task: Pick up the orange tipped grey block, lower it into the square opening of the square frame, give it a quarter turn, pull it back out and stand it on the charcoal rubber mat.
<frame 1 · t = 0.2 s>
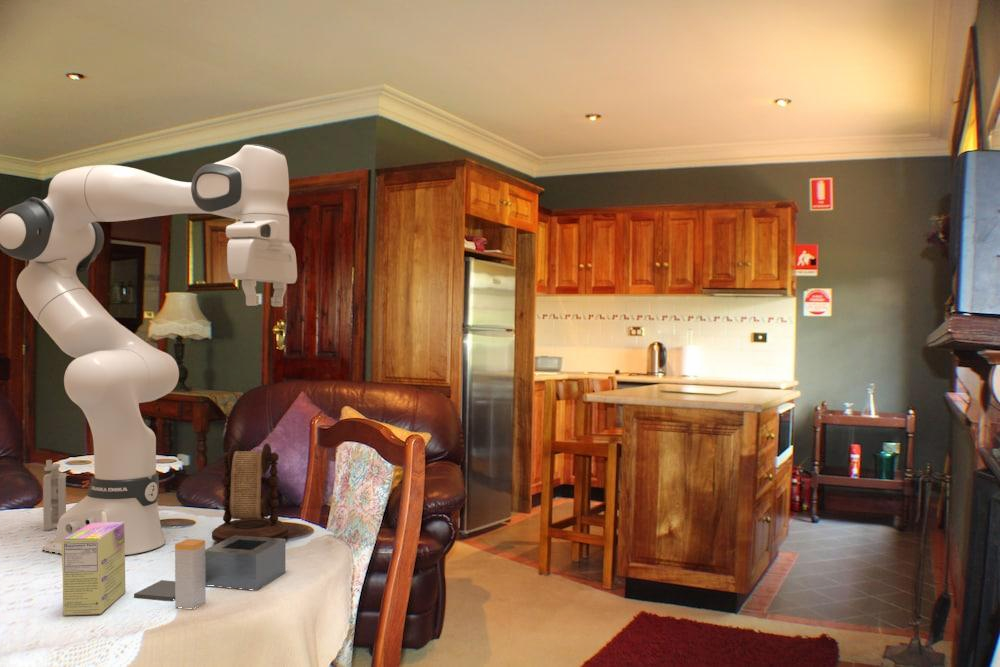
hand: (265, 306, 151), 47 cm above the table, tool pointing down, fingers open, 8 cm apart
white pump bottle: (56, 526, 176), on the table
orange tipped grey block: (190, 605, 127), on the table
box: (95, 605, 128), on the table
mat: (166, 592, 133), on the table
scroll: (250, 542, 163), on the table
square frame: (245, 579, 140), on the table
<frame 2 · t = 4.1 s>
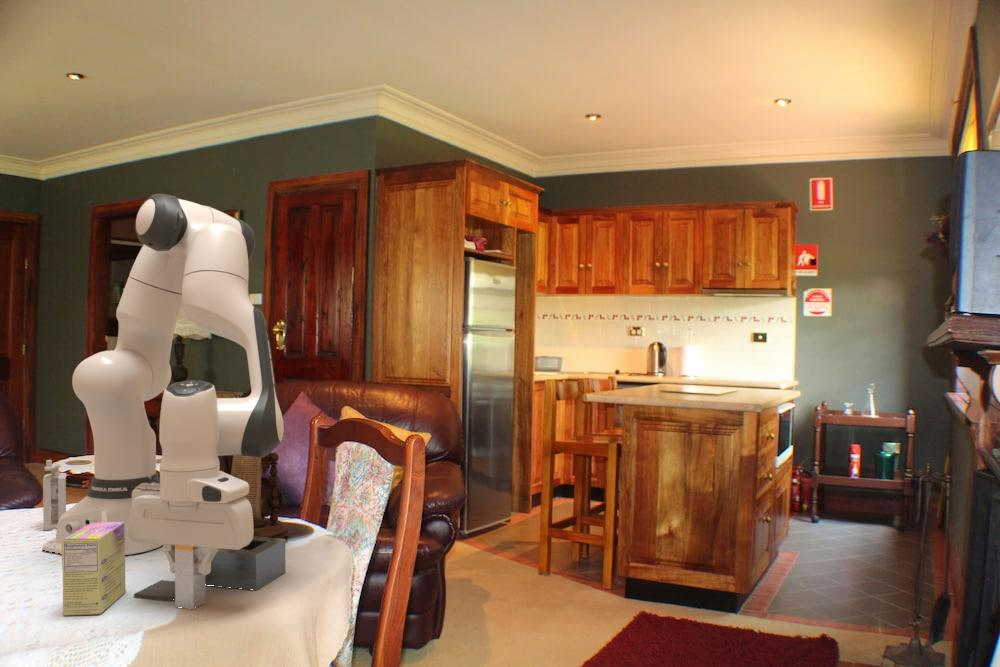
hand: (190, 572, 127), 5 cm above the table, tool pointing down, fingers closed on orange tipped grey block, 3 cm apart
orange tipped grey block: (190, 605, 127), on the table, touching gripper
everything else where it was.
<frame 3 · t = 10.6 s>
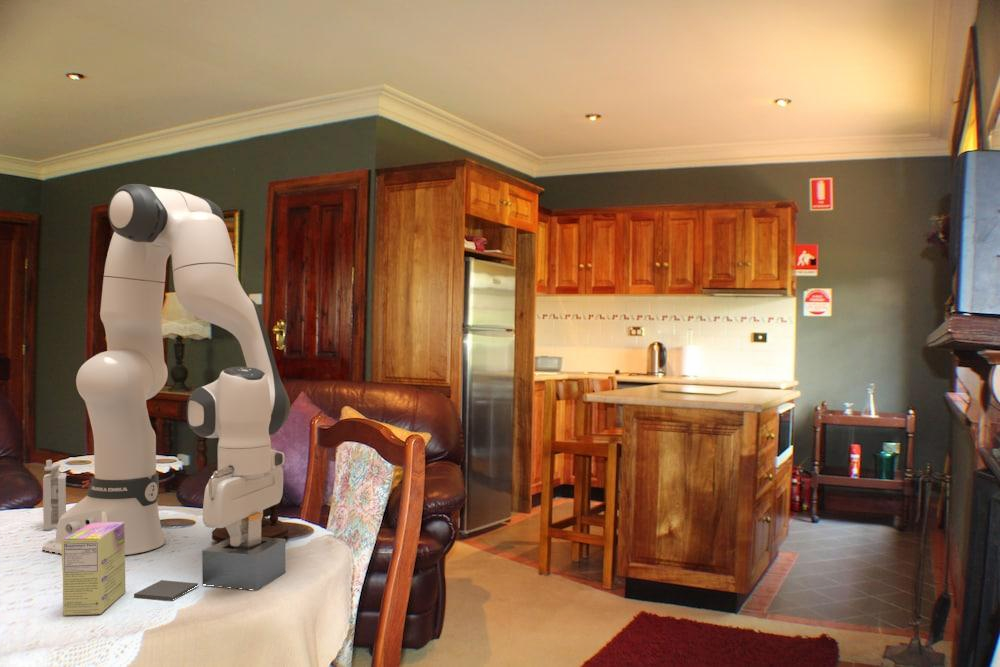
hand: (244, 541, 140), 7 cm above the table, tool pointing down, fingers closed on orange tipped grey block, 3 cm apart
orange tipped grey block: (247, 571, 140), point 1 cm above the table, touching gripper
everything else where it was.
when the fingers open (7 cm above the table, at t = 16.0 s): orange tipped grey block stays where it is, resting on mat.
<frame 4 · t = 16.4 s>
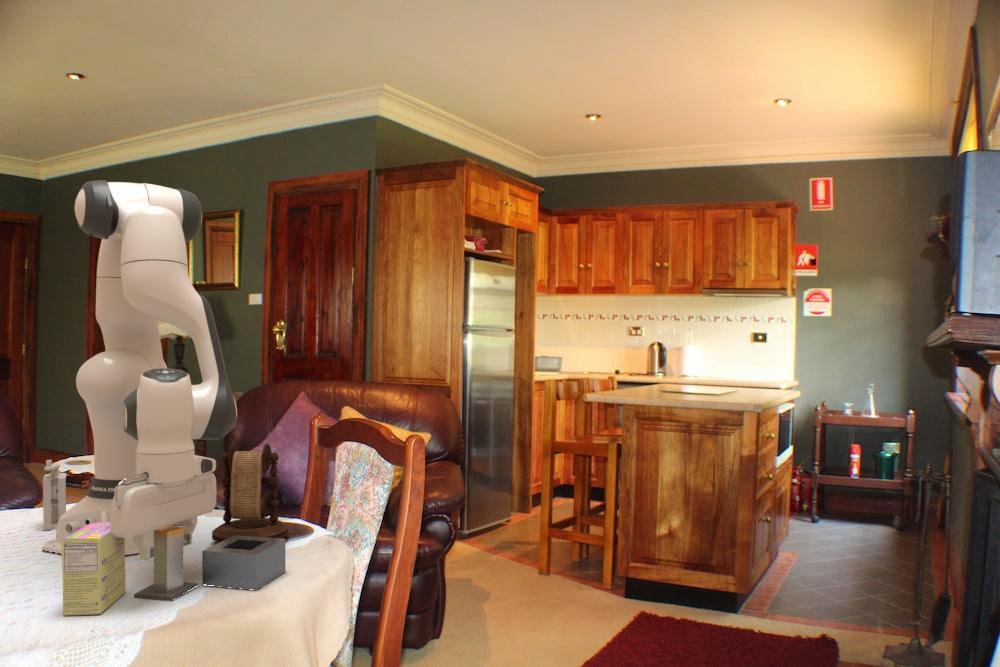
hand: (166, 551, 133), 7 cm above the table, tool pointing down, fingers open, 7 cm apart
orange tipped grey block: (168, 588, 133), point 1 cm above the table, touching mat
everything else where it was.
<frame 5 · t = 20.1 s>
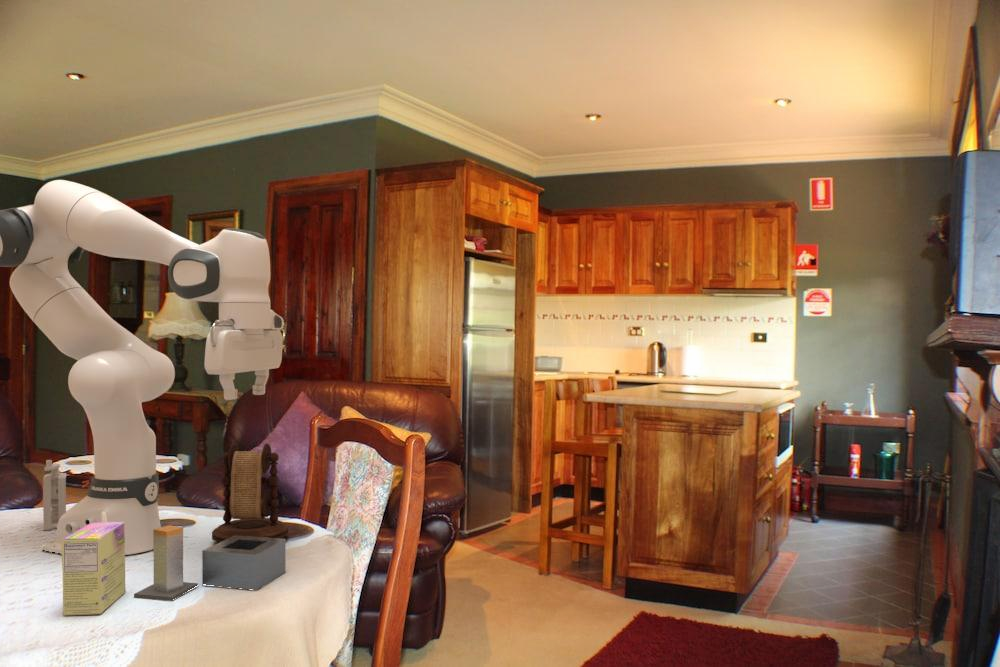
hand: (245, 397, 144), 31 cm above the table, tool pointing down, fingers open, 8 cm apart
nothing on the table moved.
at the end: orange tipped grey block inside the target area on the mat (0.5 cm from its centre), point 0.6 cm above the mat's base; orange tipped grey block tilted 0°; the gripper is holding nothing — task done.
